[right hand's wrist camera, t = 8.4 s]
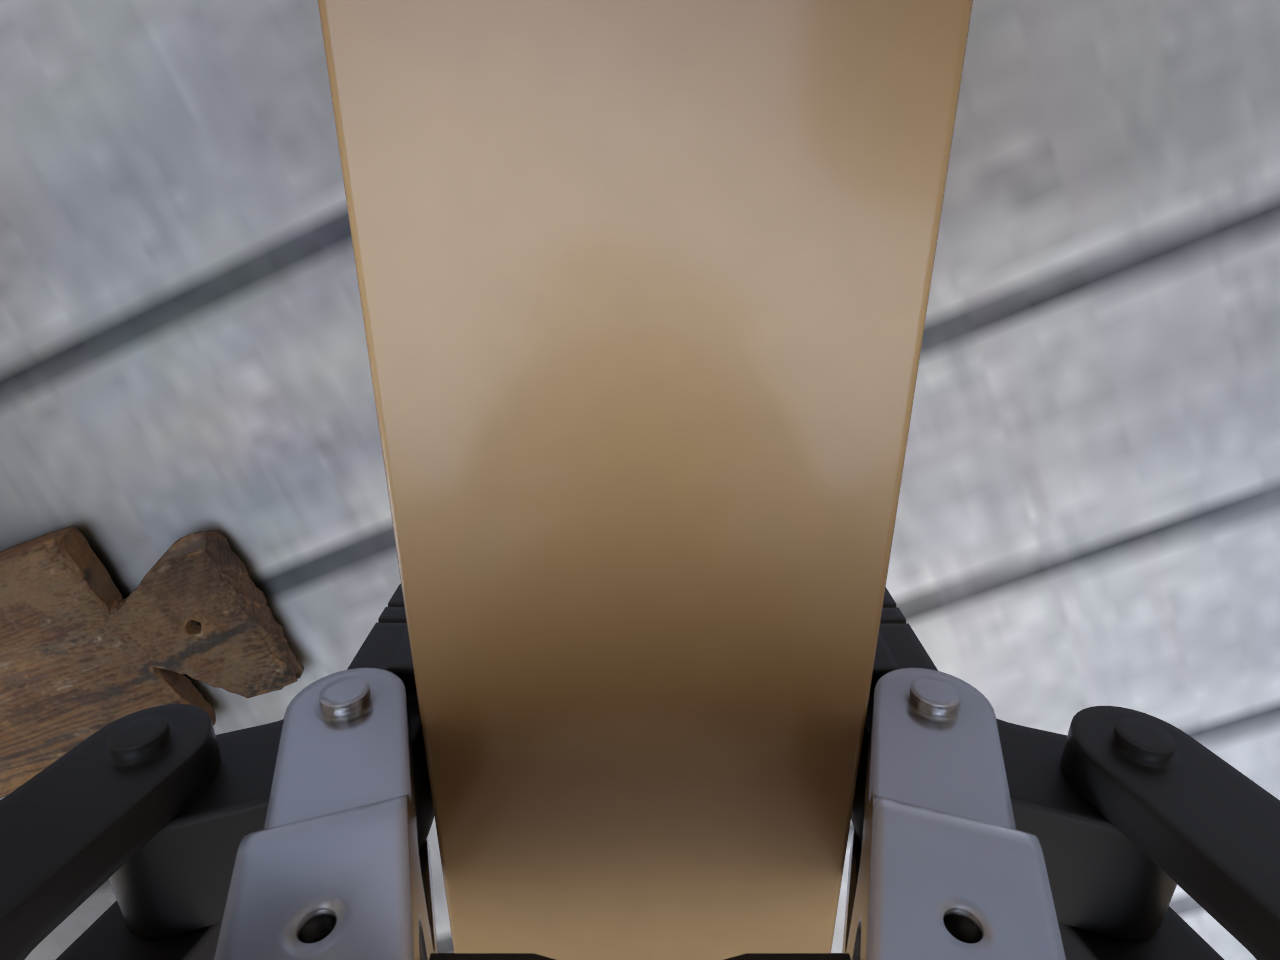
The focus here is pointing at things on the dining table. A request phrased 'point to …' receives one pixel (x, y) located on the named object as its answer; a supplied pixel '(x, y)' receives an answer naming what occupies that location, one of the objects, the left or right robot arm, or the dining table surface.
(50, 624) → the dark wooden board
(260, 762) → the right robot arm
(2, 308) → the dining table surface
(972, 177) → the dining table surface
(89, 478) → the dining table surface
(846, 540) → the bar
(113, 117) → the dining table surface
